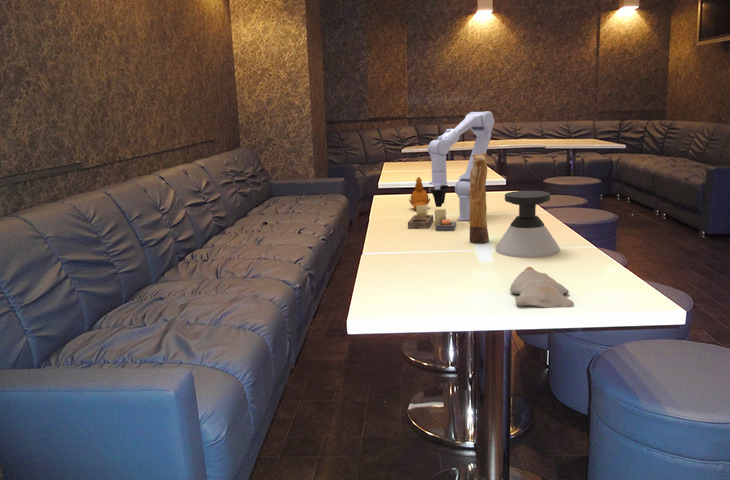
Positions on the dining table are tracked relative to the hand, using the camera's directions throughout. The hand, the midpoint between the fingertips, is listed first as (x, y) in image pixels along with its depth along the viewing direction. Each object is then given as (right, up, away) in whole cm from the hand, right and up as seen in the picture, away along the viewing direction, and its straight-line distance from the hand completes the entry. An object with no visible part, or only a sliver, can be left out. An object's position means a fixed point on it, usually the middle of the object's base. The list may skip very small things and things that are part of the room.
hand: (440, 205), depth 244 cm
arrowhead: (+15, -27, -85) cm, 90 cm away
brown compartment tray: (-7, -8, +4) cm, 11 cm away
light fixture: (+23, -17, -45) cm, 53 cm away
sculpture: (+10, -14, -29) cm, 34 cm away
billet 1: (-6, -6, +8) cm, 12 cm away
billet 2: (+1, -8, +2) cm, 8 cm away
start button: (+1, -8, -7) cm, 11 cm away
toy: (-4, 0, +39) cm, 40 cm away
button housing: (+2, -10, -7) cm, 12 cm away
